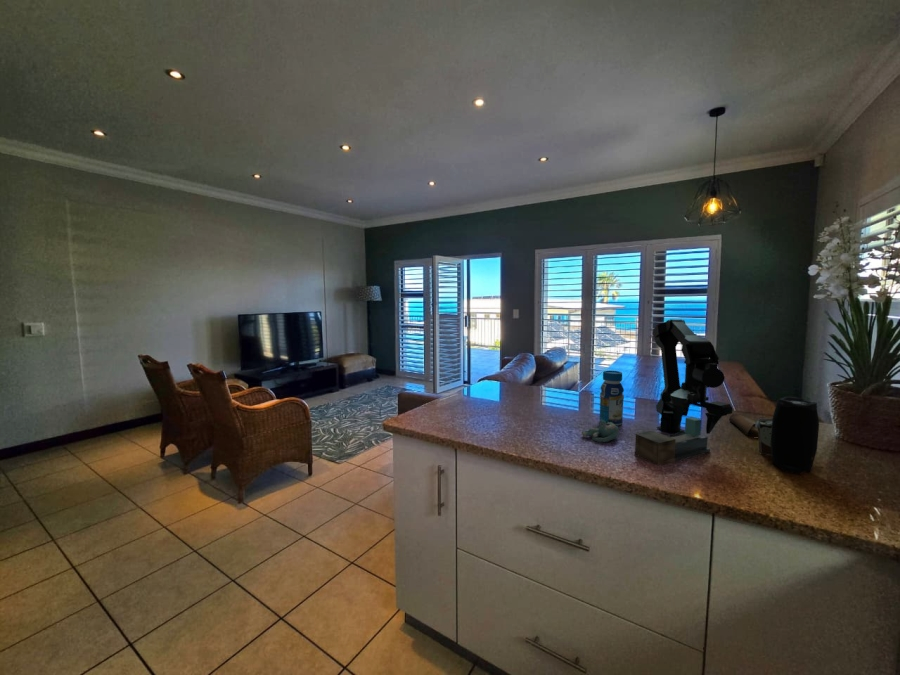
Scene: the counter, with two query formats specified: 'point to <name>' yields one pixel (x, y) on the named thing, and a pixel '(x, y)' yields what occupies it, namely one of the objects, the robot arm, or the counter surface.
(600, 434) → the stuffed animal
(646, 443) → the socket block
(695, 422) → the teal angled piece
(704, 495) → the counter surface
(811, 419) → the portable speaker
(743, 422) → the sunglasses case
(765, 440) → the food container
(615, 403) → the beverage bottle
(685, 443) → the sleeve channel
